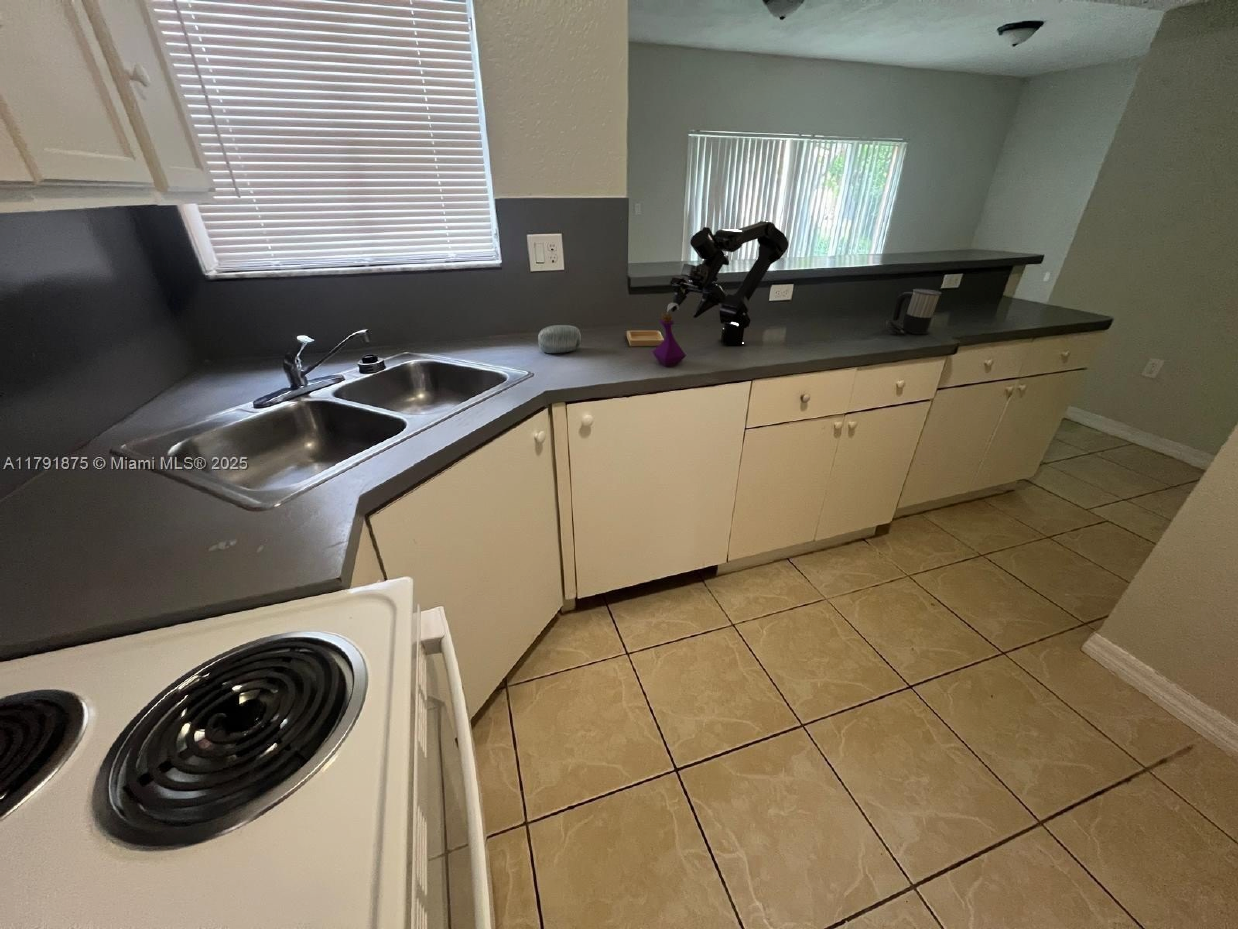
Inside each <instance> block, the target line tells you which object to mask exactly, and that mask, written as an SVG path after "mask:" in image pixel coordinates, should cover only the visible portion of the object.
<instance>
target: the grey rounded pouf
mask: <svg viewBox="0 0 1238 929" xmlns="http://www.w3.org/2000/svg"><path fill="white" fill-rule="evenodd" d="M581 336H582V335H581V331H580V329H579V328H578V327H577V326H574V325H569V324H568V325H566V324H557V325H549V326H545V327H544V328H542V329H541V330H540V331H539V332H538V336H537V343H538V347H539V349H540V350H541V351H542V352H543V353H546V354H547V353H548V354H560V353H569V352H575V351H577V350H578V349H579V347H580V345H581V342H582V337H581Z"/></svg>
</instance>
